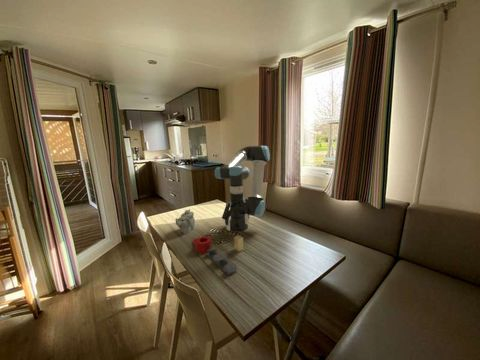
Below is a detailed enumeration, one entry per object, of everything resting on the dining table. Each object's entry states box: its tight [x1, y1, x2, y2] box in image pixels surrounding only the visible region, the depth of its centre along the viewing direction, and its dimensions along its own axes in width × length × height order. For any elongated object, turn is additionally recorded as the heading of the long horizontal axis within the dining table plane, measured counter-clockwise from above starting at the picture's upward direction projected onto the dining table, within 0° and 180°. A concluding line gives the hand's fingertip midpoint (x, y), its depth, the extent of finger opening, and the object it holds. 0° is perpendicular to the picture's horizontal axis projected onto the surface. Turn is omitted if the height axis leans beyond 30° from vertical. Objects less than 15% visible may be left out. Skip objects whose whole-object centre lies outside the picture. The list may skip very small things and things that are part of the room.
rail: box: [206, 246, 237, 276], centre depth 112 cm, size 24×5×4 cm, turn 35°
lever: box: [192, 236, 213, 255], centre depth 130 cm, size 18×9×7 cm, turn 37°
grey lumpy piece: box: [174, 208, 196, 235], centre depth 151 cm, size 15×14×17 cm
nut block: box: [233, 235, 245, 253], centre depth 125 cm, size 4×4×8 cm
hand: (237, 226), depth 123 cm, fingers open, 13 cm apart
